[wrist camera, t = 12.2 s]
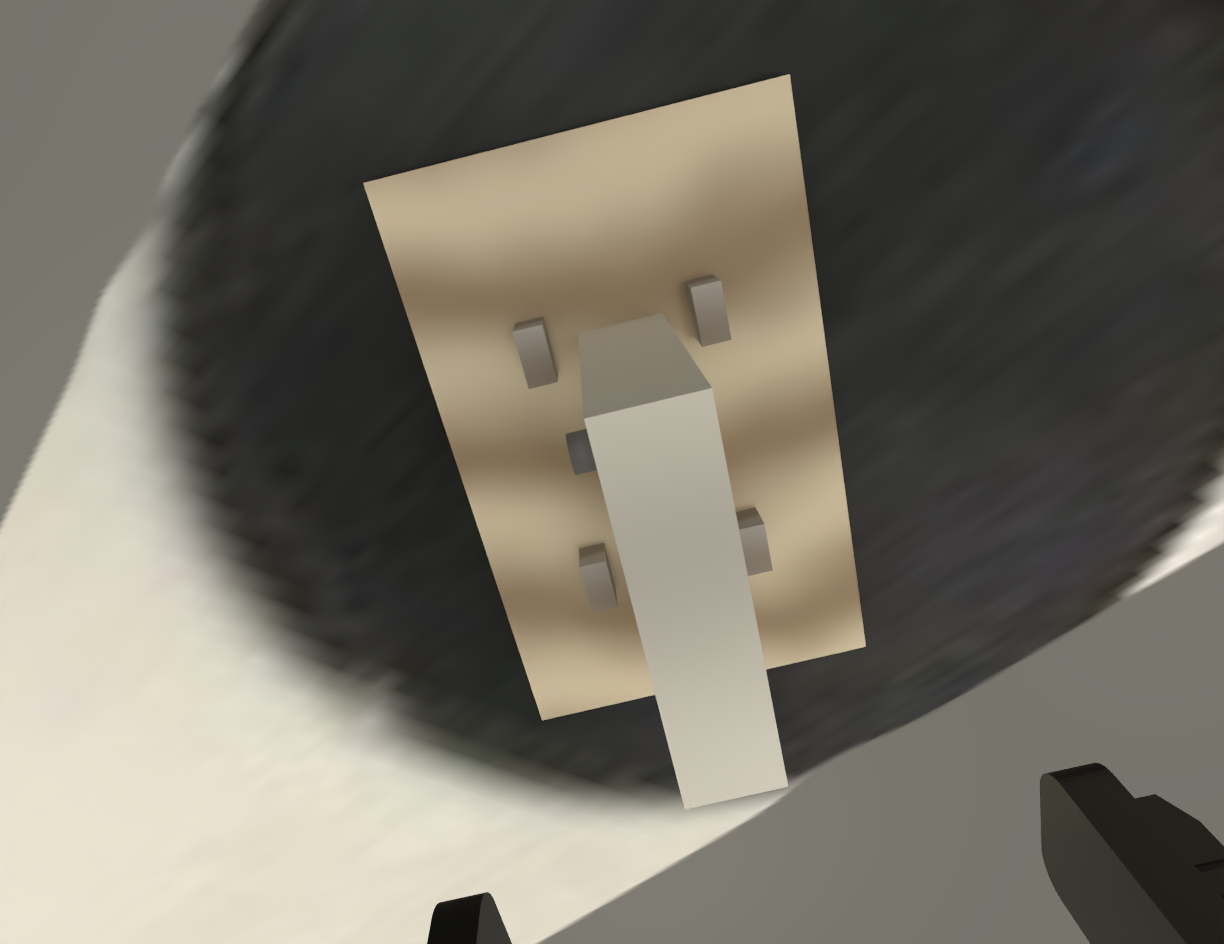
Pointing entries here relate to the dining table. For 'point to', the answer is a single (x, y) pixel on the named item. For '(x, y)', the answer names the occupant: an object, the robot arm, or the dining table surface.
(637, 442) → the door panel
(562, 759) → the dining table surface
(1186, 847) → the robot arm
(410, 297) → the light brown flat board
